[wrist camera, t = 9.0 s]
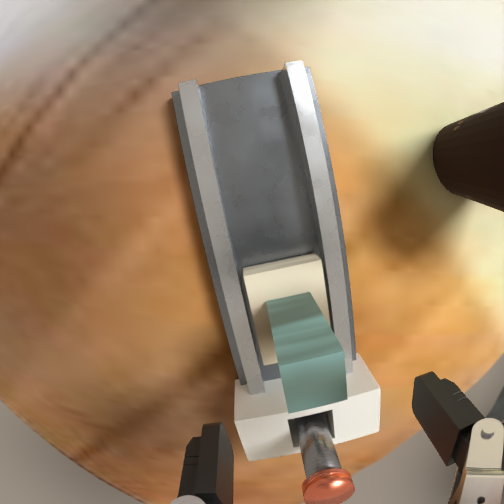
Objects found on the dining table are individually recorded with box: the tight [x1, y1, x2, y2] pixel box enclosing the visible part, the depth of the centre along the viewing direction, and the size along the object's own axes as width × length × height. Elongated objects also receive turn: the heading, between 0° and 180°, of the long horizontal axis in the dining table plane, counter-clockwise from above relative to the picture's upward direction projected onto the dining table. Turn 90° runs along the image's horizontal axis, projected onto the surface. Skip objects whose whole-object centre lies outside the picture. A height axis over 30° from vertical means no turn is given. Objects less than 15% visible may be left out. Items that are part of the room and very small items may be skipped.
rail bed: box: [171, 61, 356, 395], centre depth 23 cm, size 27×10×3 cm, turn 12°
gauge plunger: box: [294, 412, 355, 504], centre depth 20 cm, size 3×3×9 cm
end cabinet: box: [234, 353, 380, 461], centre depth 24 cm, size 5×11×6 cm, turn 102°
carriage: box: [243, 253, 348, 414], centre depth 19 cm, size 7×5×10 cm
